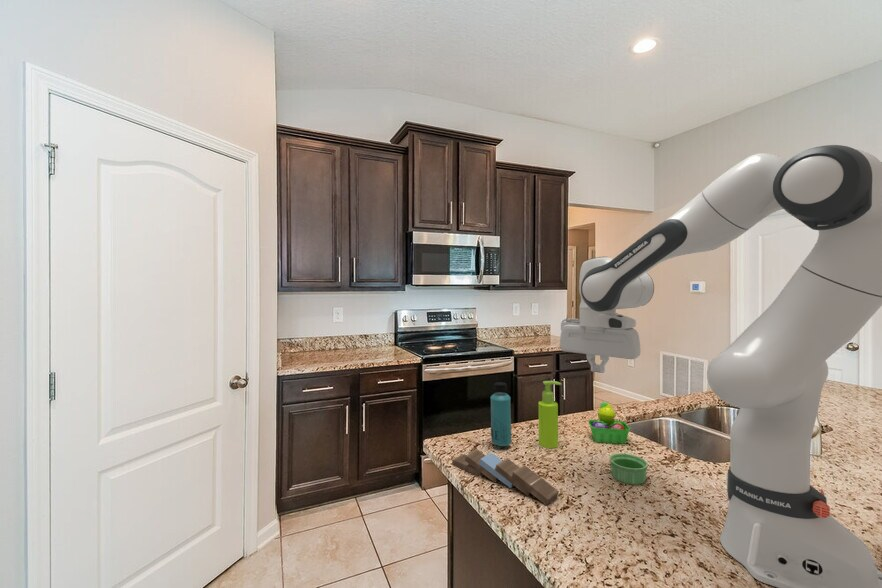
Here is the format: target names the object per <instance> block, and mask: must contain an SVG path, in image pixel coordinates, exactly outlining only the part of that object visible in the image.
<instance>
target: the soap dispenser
mask: <svg viewBox="0 0 882 588" xmlns="http://www.w3.org/2000/svg"><path fill="white" fill-rule="evenodd" d="M542 383H543V385H544V390H543V391H542V392H541V393H542V400H541V401H540V400H539V401H538V445H539V447H541V446H542V448H544V447H546V448H545V449H556V448H555V447H557V446H558V447H559V404H558V402H557V401H555V399H554V398H555V397H554V392H553V391H552V389H551V388H552V385H557V386H562V382H559V381H555V380H543V381H542ZM558 447H557V448H558Z"/></svg>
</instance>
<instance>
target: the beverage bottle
mask: <svg viewBox="0 0 882 588" xmlns="http://www.w3.org/2000/svg"><path fill="white" fill-rule="evenodd" d="M507 384H508V383H506V382H504V381H503V382H501V381H499V382H495V383H494V384H493V391H494V393H493V394H491V396H490V441H491V443H492V444H493V445H494V446H495V445H496V446H500V447H504V446H505V447H507V446H510V445H511V444H512V418H511V416H512V415H511V414H512V413H511V399H512V398H511V396H510V395H509V394H508V393H506V391H508V386H507Z"/></svg>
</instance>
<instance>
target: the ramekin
mask: <svg viewBox="0 0 882 588" xmlns="http://www.w3.org/2000/svg"><path fill="white" fill-rule="evenodd" d="M608 460H609V462H610V471H611V472H610V473H611V476H612V477H613V478H614V479H615V480H617V481H618V482H621V483H624V484H628V485H642V484H644V483H645V482H646V480H647V470H648V467H649V464H648V462H647V461H646V460H645V459H644V458H642V457H640V456H637V455H634V454H631V453H630V454H629V453H614V454H611V455H609V459H608Z"/></svg>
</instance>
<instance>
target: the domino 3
mask: <svg viewBox="0 0 882 588" xmlns="http://www.w3.org/2000/svg"><path fill="white" fill-rule="evenodd" d="M485 455H486V456H484V457H483V458H481V459H480V462H479V465H481V466H482V467H483V468H485V469H486V470H487V471H489V472H490V473H491V474H492V475H494V476H495V477H496V478H498V479H499V480H498V481H500V482H502V483H503V485H505V486H506V487H508V488H509V489H512V488H513V487H515V486H514V485H513V484H512V483H510V482H509V481H508V480H507V479H506V478H504V477H503V476H502V475H501V474H499V473H498V472H497V471H496V470H495V468H496V465H497V464H498V463H500V462H502V461H503V460H502V459H501V458H500V457H498V456H497V455H495V454H494V453H492V452H489V453H488V454H485Z"/></svg>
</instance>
